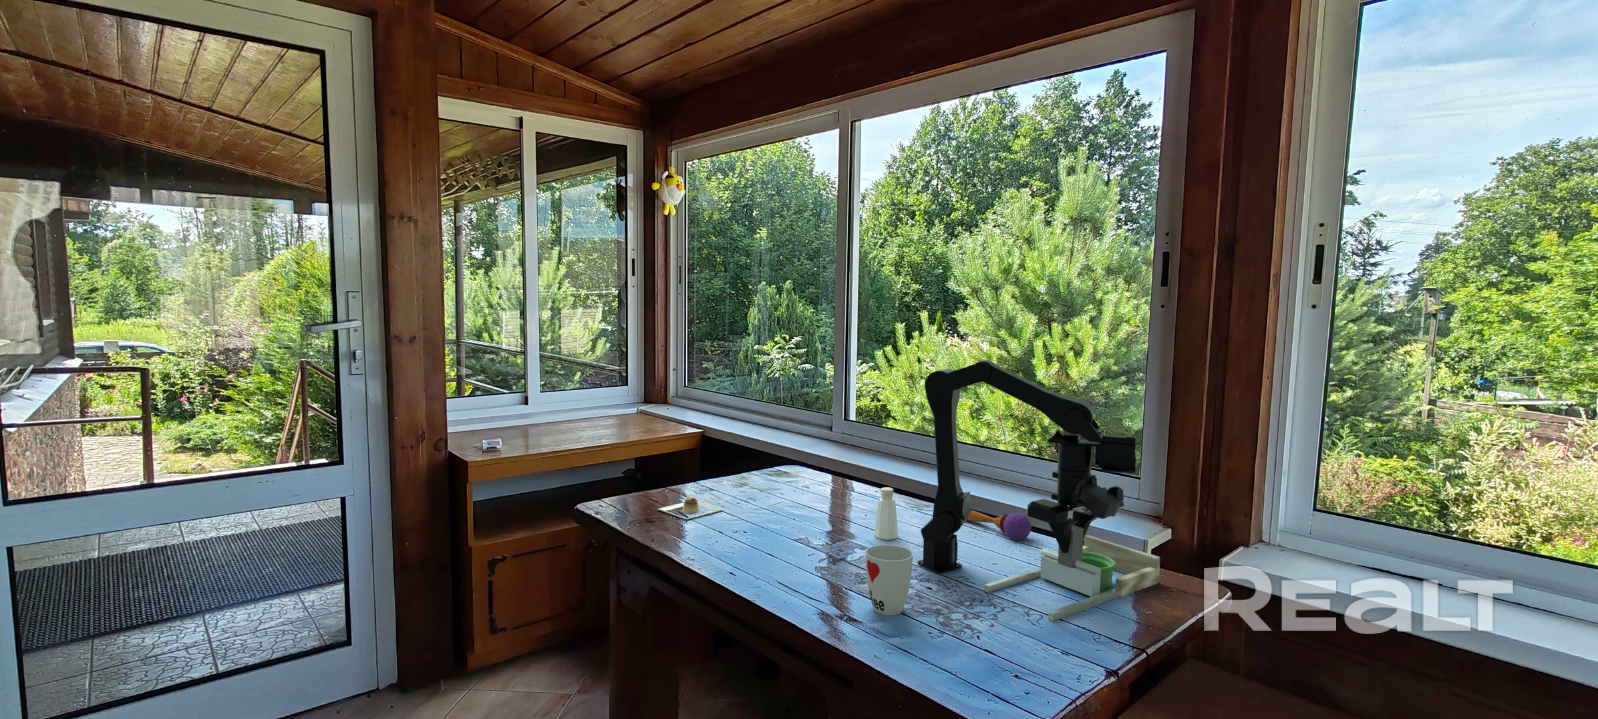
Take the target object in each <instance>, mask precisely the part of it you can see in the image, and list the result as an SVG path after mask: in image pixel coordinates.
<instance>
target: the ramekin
mask: <svg viewBox="0 0 1598 719" xmlns="http://www.w3.org/2000/svg"><path fill="white" fill-rule="evenodd" d="M1082 562H1084V563H1087V564H1090V565H1093V566H1096V567H1099V568H1101V574H1100V590H1103V589H1108V588H1109V587H1110V586H1111V585H1112V583H1113V582H1112V581H1113V573H1114V570H1113V569H1114V567H1115V562H1114V561H1113V560H1112V559H1111V558H1109V557H1107V556H1104V555H1101V554H1097V553H1092V552H1083V554H1082Z"/></svg>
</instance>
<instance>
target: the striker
mask: <svg viewBox="0 0 1598 719" xmlns="http://www.w3.org/2000/svg"><path fill="white" fill-rule="evenodd" d="M1083 546H1084V539H1083V528H1081V527H1078V526H1075V525H1073V526H1072V528H1071V536H1070V543H1069V549H1068V553H1063V552H1062V551H1061V549H1060V547H1059V546H1058V550H1057V551H1058V552H1054V551H1052V550H1050V549H1046V548H1042V549H1041V551H1040V553H1041V555H1042V556H1040V568H1041V576H1040V578H1041V579H1042V578H1043V579H1044V580H1048V581H1050V582H1052V583H1055V584H1058V585H1060V586H1063V587H1065V588H1068V589H1071V590H1073V591H1076V592H1079V593H1081V594H1083V595H1086V596H1089V597H1092V596H1095V595H1098V594H1101V589H1100V574H1101V568H1099V567H1096V566H1093V565H1090V564H1087V563H1084V562H1082V554H1083Z"/></svg>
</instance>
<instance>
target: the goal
mask: <svg viewBox="0 0 1598 719" xmlns="http://www.w3.org/2000/svg"><path fill="white" fill-rule="evenodd" d="M1083 552H1092V553H1097V554H1101V555H1104V556H1107V557H1109V558H1111V559H1112V560H1113V561H1114V562H1115V567H1114V569H1113V571H1117V572H1119V573H1122V574H1125V575H1122V576H1119V577H1117V578H1115V588H1112V589H1110V590H1106V591H1103V592H1100V594H1098V595H1095V596H1092V597H1091V596H1089V597H1087V598H1084V599H1081V600H1078V601H1076V602H1073V603H1070V604H1068V605H1065V606H1062V607H1060V608H1057V609H1053V610H1050V611H1048V612H1047V620H1049V621H1051V622H1056V621H1059V620H1060V619H1063V618H1067V617H1069V616H1071V615H1074V614H1077V613H1080V612H1083V611H1084V610H1088V609H1090V608H1093V607H1096V606H1099V605H1101V604H1104V603H1106V602H1109V601H1111V600H1114V599H1117V598H1120V597H1121V598H1122V597H1126V596H1127V595H1130V594H1133V593H1135V591H1136V592H1138V591H1140V590H1144V589H1147V588H1148V587H1152V586H1154V585H1157V584H1159V583H1160V568H1161V567H1160V566H1161V557H1160V556H1157V555H1155V554H1152V553H1147V552H1145V551H1140V550H1138V549H1134V548H1132V547H1129V546H1125V545H1122V544H1119V543H1115V542H1112V541H1109V540H1106V539H1103V538H1099V537H1096V536H1092V535H1090V534H1087V535H1086V534H1085V537H1084V539H1083ZM1040 576H1041V567H1037V568H1035V569H1031V570H1028V571H1025V572H1021V573H1018V574H1014V575H1011V576H1008V577H1005V578H1001V579H998V580H994V581H991V582H988V583H985V584H983V590H984V592H986V593H988V594H990V593H991V592H995V591H998V590H1002V589H1005V588H1008V587H1011V586H1014V585H1018V584H1020V583H1023V582H1027V581H1030V580H1033V579H1037V578H1039V577H1040ZM1040 578H1041V577H1040ZM1143 588H1144V589H1143Z"/></svg>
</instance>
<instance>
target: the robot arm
mask: <svg viewBox="0 0 1598 719" xmlns="http://www.w3.org/2000/svg"><path fill="white" fill-rule="evenodd" d="M981 382H982V383H985V384H987V385H988V386H991V387H992V388H994V389H996V390H999V391H1000V392H1002V393H1005V394H1006V395H1009V396H1011V397H1013V398H1014V399H1017V401H1018V400H1019V401H1021V402H1022V403H1025V404H1027V405H1029V406H1031V407H1032V408H1034V409H1036V410H1038V411H1039V412H1041V413H1042V414H1044V416H1046V417H1047V418H1048V419H1049V420H1050V421H1051V422H1052V423H1054V424H1056V425H1057V426H1058V427H1060V428H1061V429H1063V430H1064V431H1065V432H1066V433H1064V432H1063V431H1062V430H1061V429H1060V428H1057V429H1056V431H1055V432H1054V433H1053V434H1052V435H1050V436H1049V437H1048V438H1047V443H1050V444H1058V451H1057V452H1058V453H1057V454H1058V456H1057V471H1055V470H1054V471H1052V475H1051V476H1052V478H1054V479H1056V492H1054V493H1053V492H1052V493H1051V498H1050V499H1051V500H1050V499H1046V498H1041V499H1037V500H1031V501H1030V502H1029V503H1028V504H1027V508H1026V509H1027V510H1026V517H1030V518H1032V519H1036V520H1038V521H1041V522H1045V523H1048V525H1049V528H1050V529H1051V531H1052V533H1053V536H1054V537H1055V539H1056V542H1057V544H1058V548H1059V547H1060V549H1061V551H1062V552H1063V553H1068V549H1069V543H1070V536H1071V528H1072V526H1073V525H1075V526H1078V527H1081V528H1083V540H1084V537H1085V536H1086V534H1087V531H1088V530H1089V527H1090V525H1091V523H1092V522H1094V521H1095V520H1096V519H1101V520H1104V519H1107V518H1110V517H1112V518H1113V517H1115V516H1116V513H1117V512H1118V510H1119V508H1122V507H1125V504H1124V498H1125V496H1124V489H1123V488H1121V487H1120V486H1118V485H1115V486H1110V487H1109V488H1107V487H1101V486H1099V485H1098V478H1097V476H1096V474H1092V457H1093V456H1092V455H1093V454H1092V453H1093V448H1095V455H1094V456H1095V458H1094V465H1095V466H1097V468H1101V469H1100V471H1101V472H1106V473H1107V472H1108V473H1116V474H1125V475H1133V476H1134V475H1136V466H1137V452H1136V444H1137V443H1136V441H1137V440H1136V439H1137V438H1136V435H1114V434H1105V432H1104V431H1103V428H1102V427H1101V426H1100V425H1099V424H1098V422H1097V420H1095V410H1094V409H1093V406H1092V405H1091V404H1090V403H1089V402H1088V401H1086V400H1084V399H1081V398H1077V397H1075V396H1071V395H1068V394H1064V393H1059V392H1055V391H1051V390H1049V389H1047V388H1044V387H1042V386H1040V385H1038V384H1037V383H1035V382H1032V381H1030V380H1027V379H1026V378H1023V377H1022V376H1020V375H1017V374H1016V373H1013V372H1011V371H1010V370H1007V369H1005V368H1003V367H1002V366H999V365H997V364H996V363H994V362H993V361H991V360H990V359H982V360H979V361H976V363H974V364H972V365H968V366H963V367H962V368H961V367H960V368H958V369H955V370H954V369H952V368H948V367H946V368H941V369H938V370H935V371H933V372H930V373H929V374H928V376H927V377H926V378H925V380H924V385H923V386H924V391H925V394H926V400H927V402H928V406H929V408H930V410H931V413H932V416H933V424H934V425H933V426H934V441H935V457H936V474H937V475H936V476H937V491H936V494H935V498H934V502H933V508H932V509H933V510H932V518H931V519H930V520H929V521H928V522H927V523H926V524H925V525H923V527H922V528H921V529H920V533H921V536H922V539H923V542H922V543H923V544H922V559H920V560H918V561H917V565H920V566H922V567H924V568H926V569H929V570H930V571H933V572H935V573H938V574H942V573H946V572H950V571H954V570H956V569H961V568H963V564H961V563H960V562H958V549H959V548H958V547H959V546H958V544H959V543H958V540H957V539H958V534H955V533H957V532H958V531H959V530H960V529H961V528H962V527H963V525H964V524H965V522H967V521H966V520H967V518H968V515H969V514H970V513H971V511H972V510H973V509H972V508H971V504H970V501H971V492H970V491H966V492H964V491H963V488H962V485H961V483H960V469H959V468H960V467H959V452H958V451H959V449H958V447H959V446H958V431H957V430H958V429H957V409H958V406H959V402H960V395H961V389H963V388H967V387H969V386H971V385H975V384H978V383H981ZM1080 437H1082V438H1084V439H1081V438H1080ZM1052 500H1054V501H1052ZM1056 501H1057V502H1056Z"/></svg>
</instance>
